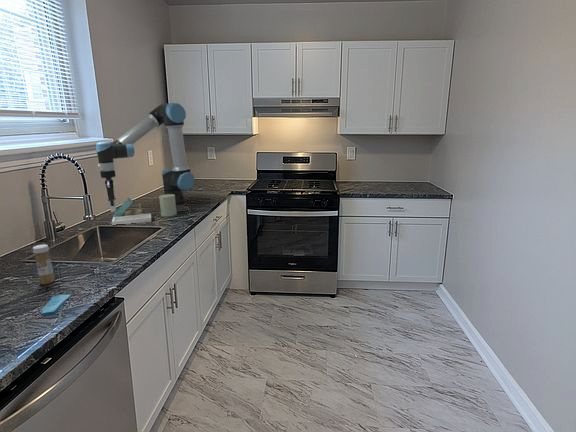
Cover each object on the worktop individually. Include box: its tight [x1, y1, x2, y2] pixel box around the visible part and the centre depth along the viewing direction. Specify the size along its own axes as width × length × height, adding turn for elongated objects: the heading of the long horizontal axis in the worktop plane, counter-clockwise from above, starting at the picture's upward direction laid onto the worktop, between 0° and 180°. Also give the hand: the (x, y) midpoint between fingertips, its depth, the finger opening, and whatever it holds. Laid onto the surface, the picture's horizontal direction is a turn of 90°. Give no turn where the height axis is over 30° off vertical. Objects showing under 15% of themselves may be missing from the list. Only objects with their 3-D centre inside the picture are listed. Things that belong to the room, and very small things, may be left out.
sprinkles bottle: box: [32, 244, 56, 285], centre depth 130 cm, size 5×5×13 cm
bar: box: [112, 197, 133, 218], centre depth 214 cm, size 13×5×3 cm
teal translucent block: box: [124, 203, 143, 216], centre depth 216 cm, size 9×4×8 cm, turn 110°
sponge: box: [40, 294, 72, 316], centre depth 115 cm, size 2×12×6 cm
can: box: [158, 194, 178, 217], centre depth 220 cm, size 9×9×12 cm
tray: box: [111, 213, 152, 226], centre depth 208 cm, size 20×10×2 cm, turn 110°
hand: (113, 211), depth 213 cm, fingers closed
